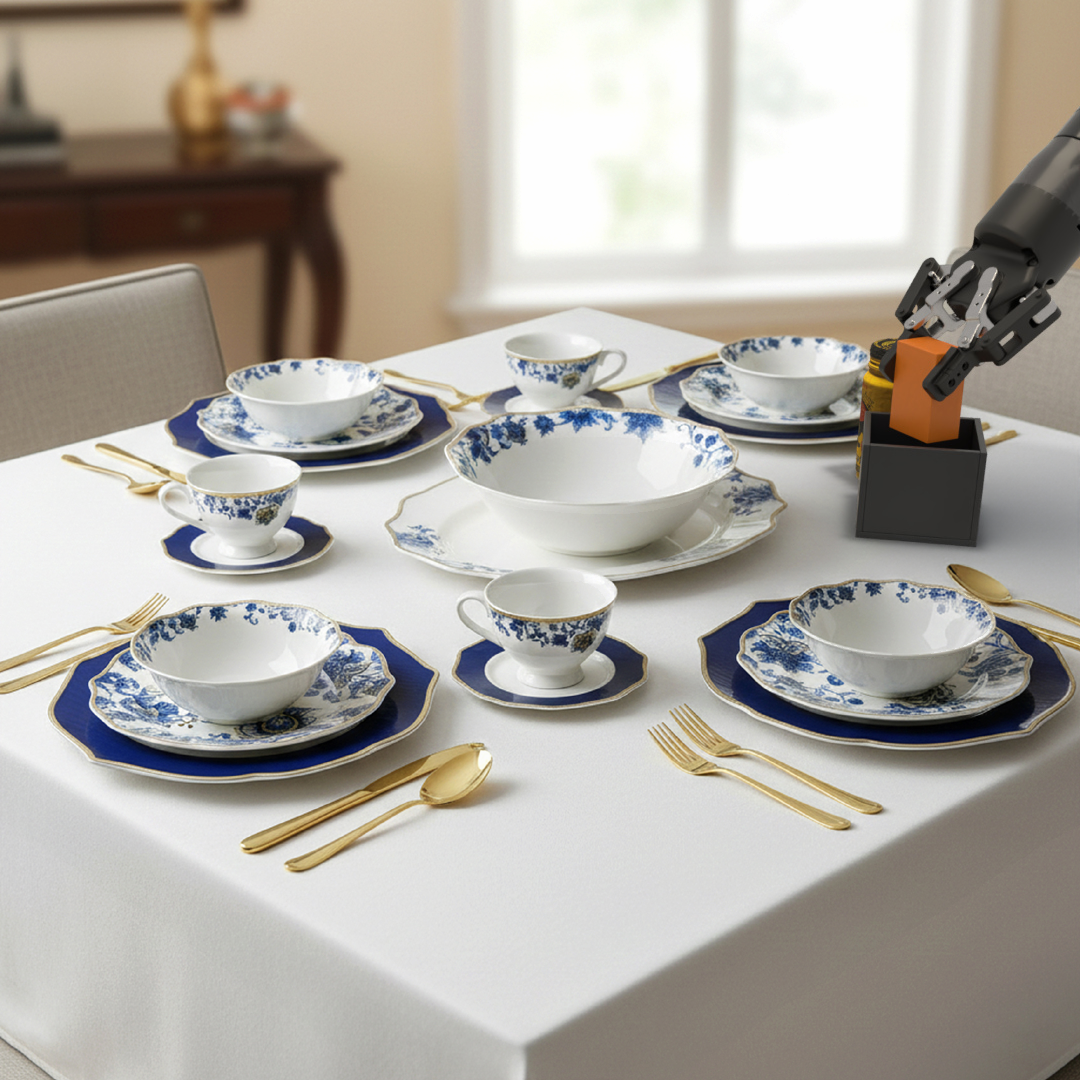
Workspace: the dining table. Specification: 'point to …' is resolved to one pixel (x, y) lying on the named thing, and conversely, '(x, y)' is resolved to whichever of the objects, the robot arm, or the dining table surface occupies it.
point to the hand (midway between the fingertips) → (908, 384)
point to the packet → (922, 393)
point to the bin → (920, 484)
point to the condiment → (874, 390)
